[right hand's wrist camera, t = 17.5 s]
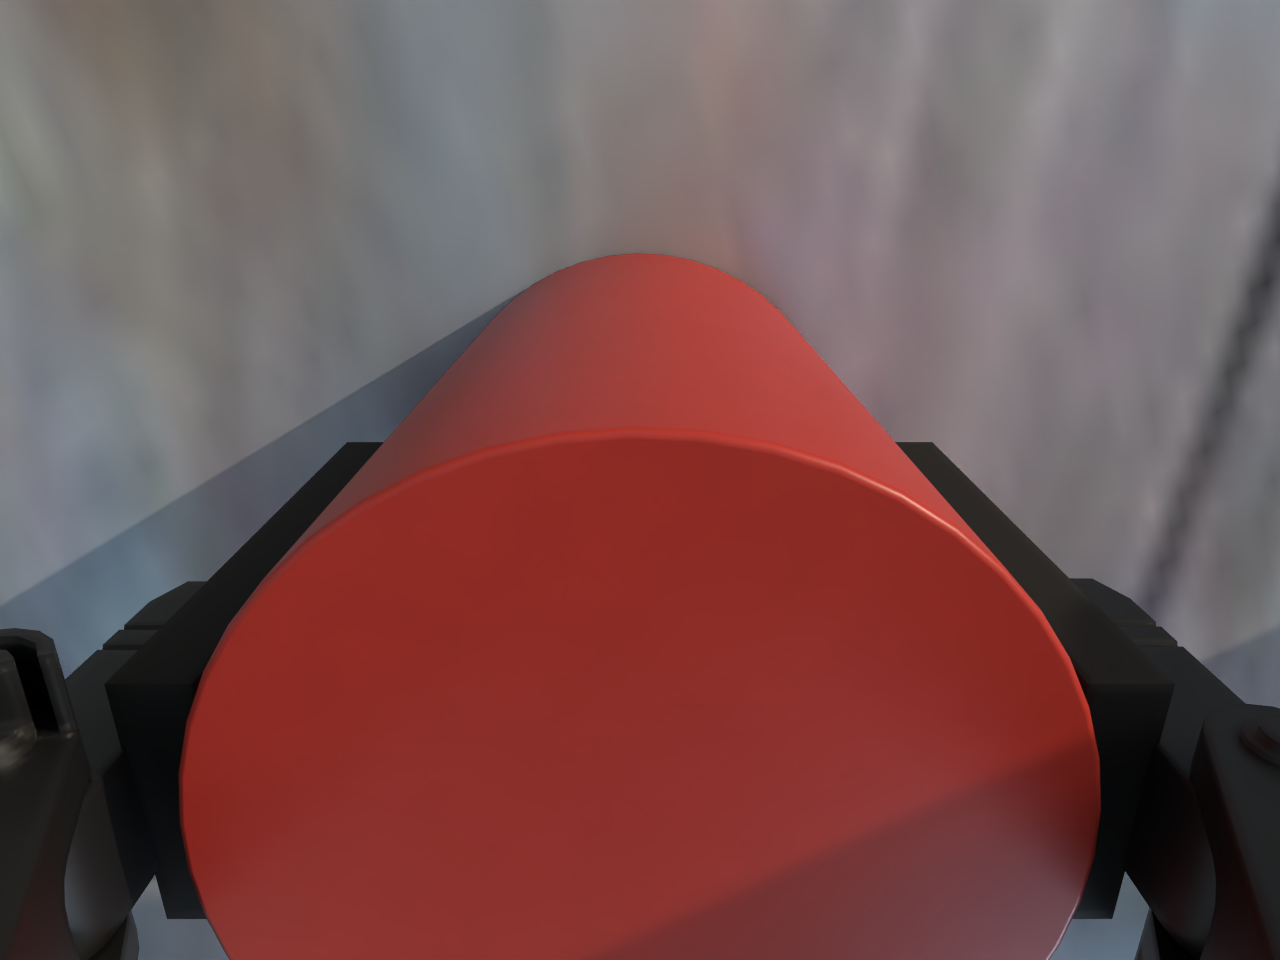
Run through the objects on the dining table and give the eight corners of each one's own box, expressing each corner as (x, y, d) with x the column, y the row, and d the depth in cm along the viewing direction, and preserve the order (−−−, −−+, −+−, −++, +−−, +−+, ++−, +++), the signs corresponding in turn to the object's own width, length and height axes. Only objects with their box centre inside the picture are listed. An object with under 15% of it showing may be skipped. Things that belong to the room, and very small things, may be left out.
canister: (712, 171, 15) (851, 207, 5) (893, 507, 18) (1227, 977, 8) (371, 385, 17) (-32, 737, 7) (582, 670, 19) (517, 1246, 9)
